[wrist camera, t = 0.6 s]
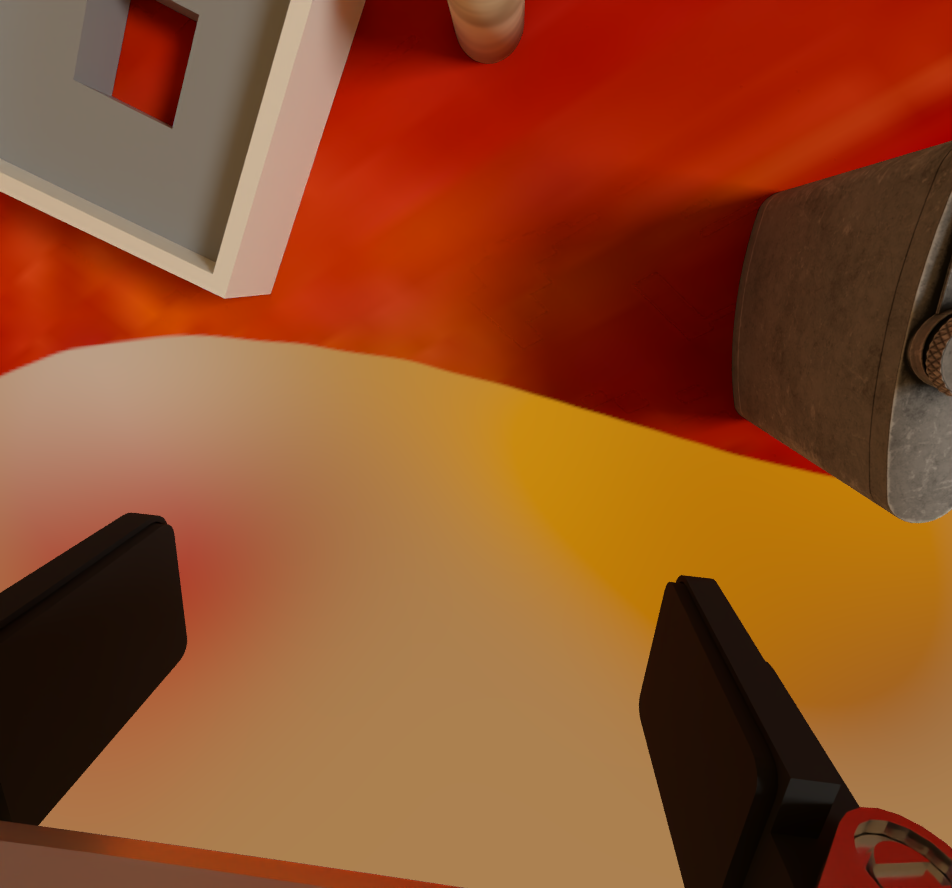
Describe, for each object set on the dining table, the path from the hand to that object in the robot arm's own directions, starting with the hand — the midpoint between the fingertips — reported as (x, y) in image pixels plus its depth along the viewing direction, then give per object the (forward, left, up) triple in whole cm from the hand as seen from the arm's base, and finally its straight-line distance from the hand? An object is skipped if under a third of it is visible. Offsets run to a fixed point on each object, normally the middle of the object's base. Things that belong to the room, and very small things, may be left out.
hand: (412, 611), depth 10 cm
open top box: (-8, -26, -28) cm, 39 cm away
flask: (-11, +14, -28) cm, 34 cm away
